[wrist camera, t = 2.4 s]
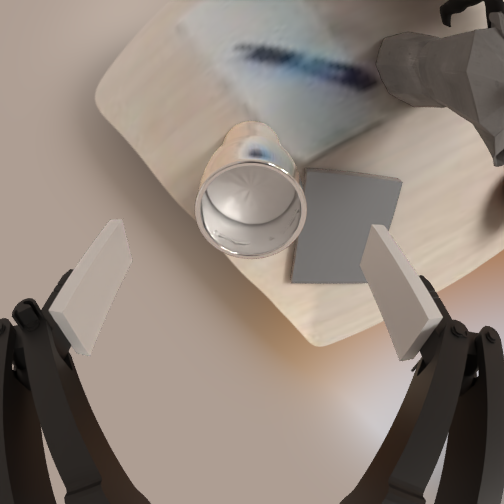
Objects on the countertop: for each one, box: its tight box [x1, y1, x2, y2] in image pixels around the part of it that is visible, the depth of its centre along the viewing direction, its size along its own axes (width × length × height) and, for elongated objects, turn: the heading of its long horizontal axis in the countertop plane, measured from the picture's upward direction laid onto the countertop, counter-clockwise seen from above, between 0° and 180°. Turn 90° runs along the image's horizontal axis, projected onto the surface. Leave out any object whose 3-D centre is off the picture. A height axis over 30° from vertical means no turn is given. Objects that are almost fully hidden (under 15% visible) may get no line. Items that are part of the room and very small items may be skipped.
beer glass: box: [195, 121, 307, 259], centre depth 22 cm, size 7×7×15 cm
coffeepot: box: [376, 0, 504, 167], centre depth 13 cm, size 15×9×18 cm, turn 8°
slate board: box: [291, 168, 402, 283], centre depth 34 cm, size 16×12×1 cm
